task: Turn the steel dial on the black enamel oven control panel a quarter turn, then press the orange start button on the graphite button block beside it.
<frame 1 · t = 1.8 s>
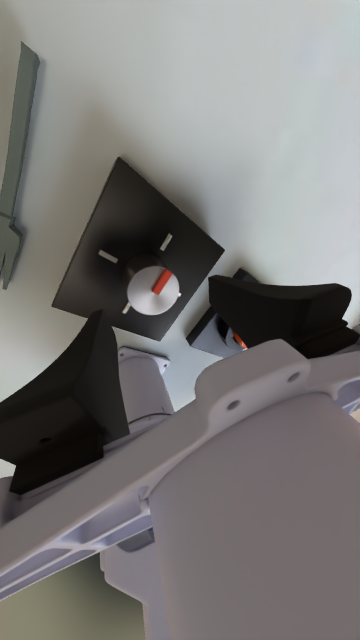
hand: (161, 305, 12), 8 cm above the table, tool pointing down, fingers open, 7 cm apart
oven dial: (149, 284, 15), point 5 cm above the table, hinge at 0.0°
button housing: (232, 318, 28), on the table
start button: (249, 334, 25), point 4 cm above the table, slide at 0.2 cm
dial panel: (139, 265, 19), on the table
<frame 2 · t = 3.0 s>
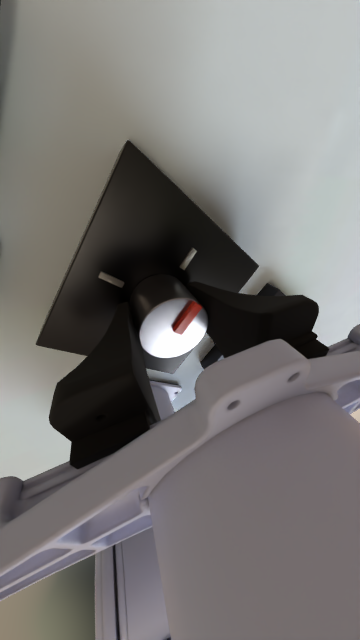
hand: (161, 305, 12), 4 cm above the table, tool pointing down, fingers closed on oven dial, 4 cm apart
oven dial: (167, 316, 11), point 5 cm above the table, hinge at 0.0°, touching gripper
button housing: (253, 338, 24), on the table
dial panel: (149, 284, 15), on the table
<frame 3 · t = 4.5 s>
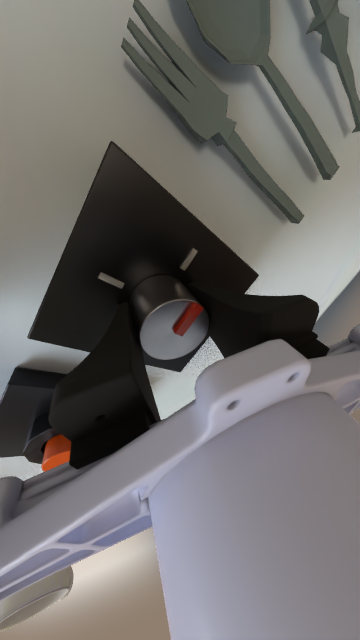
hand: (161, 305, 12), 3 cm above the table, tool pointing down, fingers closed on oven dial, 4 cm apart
oven dial: (167, 317, 11), point 5 cm above the table, hinge at 89.9°, touching gripper
teacup: (48, 543, 39), on the table
button housing: (72, 410, 20), on the table
start button: (68, 451, 17), point 4 cm above the table, slide at 0.2 cm
dial panel: (149, 285, 15), on the table
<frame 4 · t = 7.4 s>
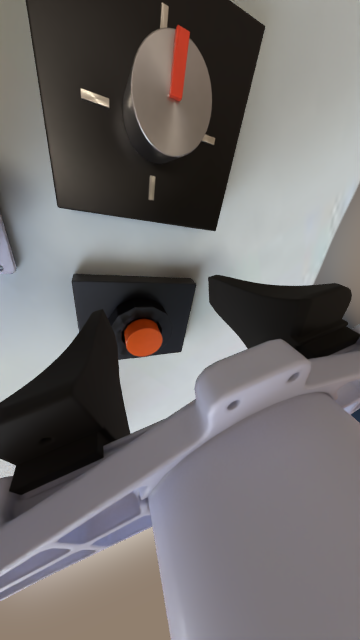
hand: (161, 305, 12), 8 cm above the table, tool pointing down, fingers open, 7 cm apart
oven dial: (165, 111, 10), point 5 cm above the table, hinge at 89.8°
button housing: (136, 316, 22), on the table
start button: (143, 337, 19), point 4 cm above the table, slide at 0.2 cm
dial panel: (146, 132, 14), on the table
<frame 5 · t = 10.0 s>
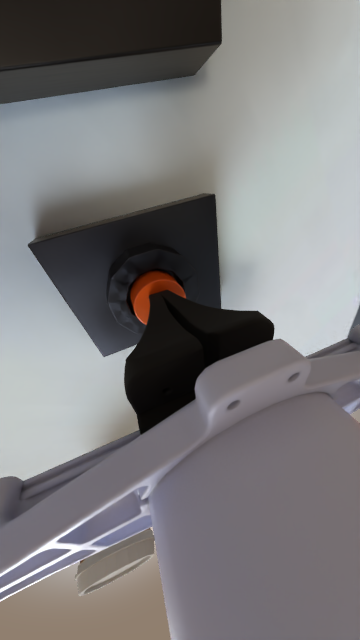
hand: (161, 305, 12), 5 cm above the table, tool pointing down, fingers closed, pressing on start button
disposable coffee cup: (112, 459, 32), on the table
button housing: (147, 279, 16), on the table
start button: (158, 299, 13), point 4 cm above the table, slide at -0.2 cm, touching gripper
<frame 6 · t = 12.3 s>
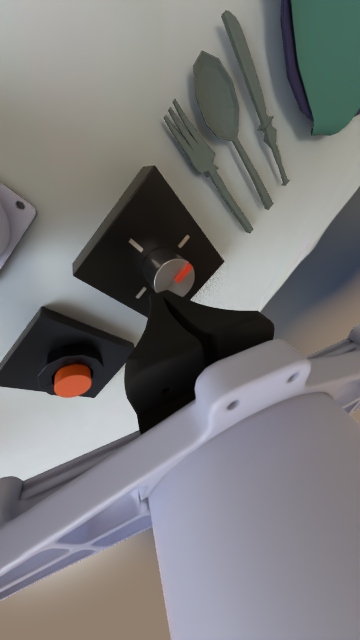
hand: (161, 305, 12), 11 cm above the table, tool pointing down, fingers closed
oven dial: (168, 274, 18), point 5 cm above the table, hinge at 89.8°
button housing: (72, 356, 24), on the table
green plate with cutlery: (311, 26, 16), on the table
start button: (73, 380, 21), point 4 cm above the table, slide at 0.2 cm
dial panel: (151, 258, 21), on the table
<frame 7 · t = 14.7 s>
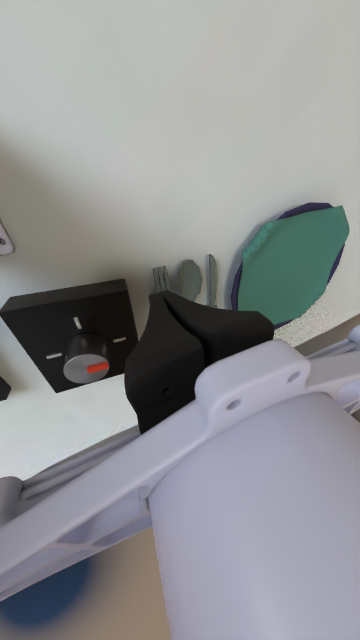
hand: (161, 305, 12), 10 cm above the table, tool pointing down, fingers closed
oven dial: (87, 358, 19), point 5 cm above the table, hinge at 89.8°
green plate with cutlery: (252, 282, 28), on the table
dial panel: (89, 331, 23), on the table
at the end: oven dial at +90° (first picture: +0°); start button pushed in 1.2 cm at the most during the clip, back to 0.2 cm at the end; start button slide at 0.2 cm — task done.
